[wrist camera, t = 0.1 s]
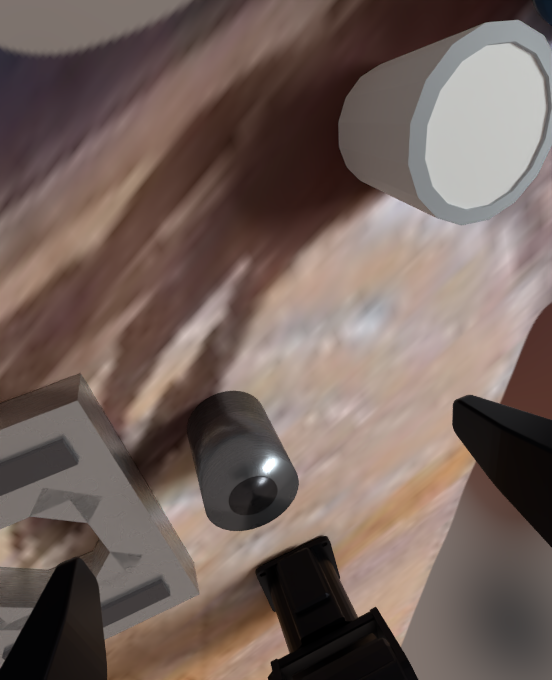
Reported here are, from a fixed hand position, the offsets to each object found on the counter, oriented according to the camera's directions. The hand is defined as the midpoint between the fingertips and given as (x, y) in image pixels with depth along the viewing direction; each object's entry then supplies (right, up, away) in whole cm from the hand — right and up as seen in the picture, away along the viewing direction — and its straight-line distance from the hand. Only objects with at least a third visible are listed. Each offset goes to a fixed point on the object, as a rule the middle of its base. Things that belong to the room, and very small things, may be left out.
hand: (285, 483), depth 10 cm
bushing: (-3, -2, +17) cm, 18 cm away
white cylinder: (+5, +14, +12) cm, 19 cm away
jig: (-14, -8, +16) cm, 23 cm away
